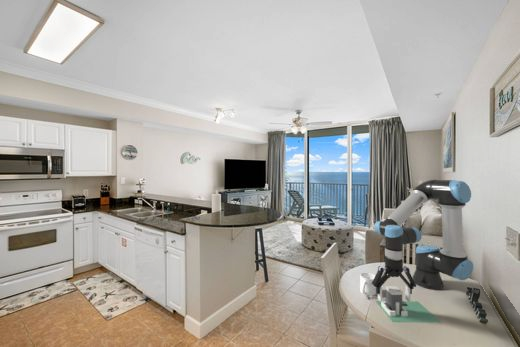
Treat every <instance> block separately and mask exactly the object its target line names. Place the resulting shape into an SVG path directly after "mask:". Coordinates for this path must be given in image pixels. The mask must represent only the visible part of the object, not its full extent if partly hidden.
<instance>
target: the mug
mask: <svg viewBox="0 0 520 347" xmlns="http://www.w3.org/2000/svg"><path fill="white" fill-rule="evenodd" d="M375 276H376V275H375V274H372V273H369V272H361V273H360V275H359V291H360V294H361V295H362V296H364V297H366V298H368V297H369V296H370V297H372V296H376V295H377V293H376V287H375V286H374V285H373V284H372V282H373V280H374V278H375Z"/></svg>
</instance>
